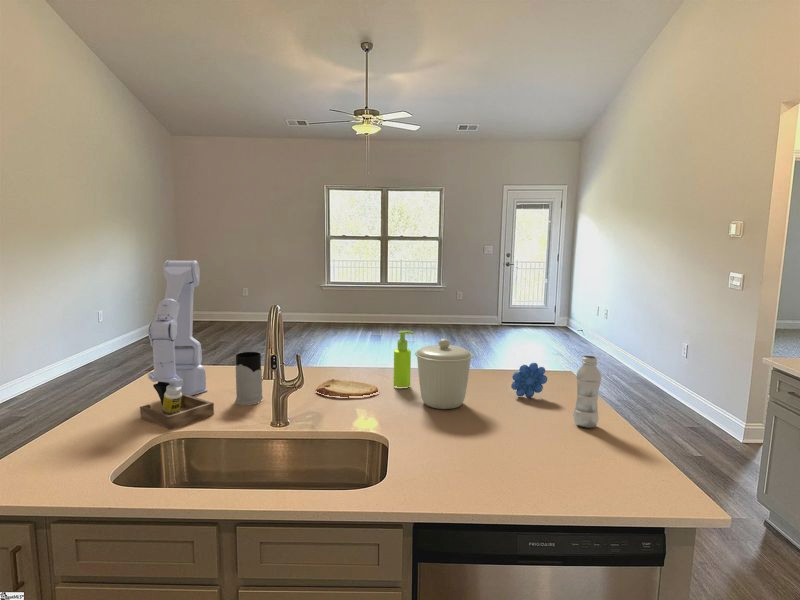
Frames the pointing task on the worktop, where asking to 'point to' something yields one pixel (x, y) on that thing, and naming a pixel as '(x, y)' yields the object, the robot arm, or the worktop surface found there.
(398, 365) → the soap dispenser
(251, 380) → the grey and black cylinder
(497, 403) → the worktop surface
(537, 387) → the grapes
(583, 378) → the plastic bottle
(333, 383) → the slice of bread
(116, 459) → the worktop surface
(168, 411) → the supplement bottle
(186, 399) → the walled box
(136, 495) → the worktop surface
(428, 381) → the canister
